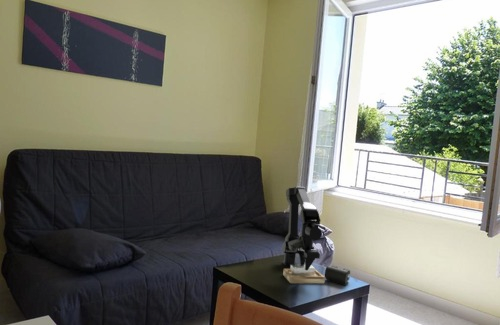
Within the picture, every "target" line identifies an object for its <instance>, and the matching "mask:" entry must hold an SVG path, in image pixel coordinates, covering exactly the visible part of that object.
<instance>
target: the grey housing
mask: <svg viewBox="0 0 500 325" xmlns="http://www.w3.org/2000/svg"><path fill="white" fill-rule="evenodd" d="M289 267H290V268H289V269H290V274H291V275H293V276H314V274H315V269H316V268H315V267H314V266H313V265H312V264H311V266H310V267H309V269H308V270H305V264H304V265H301V264H297V265H291V266H289Z"/></svg>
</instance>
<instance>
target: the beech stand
mask: <svg viewBox="0 0 500 325" xmlns="http://www.w3.org/2000/svg"><path fill="white" fill-rule="evenodd" d="M282 271H283V272H282V273H283V274H282V275H283V276H284V278H285V279H286V280H287V281H288V282H289V283H290V284H325V279H326V278H325V275H323V273H321V272H319V270H317V269H316V268H315V274H314V276H293V275H291V274H290V268H283V270H282Z"/></svg>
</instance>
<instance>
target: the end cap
mask: <svg viewBox="0 0 500 325" xmlns="http://www.w3.org/2000/svg"><path fill="white" fill-rule="evenodd" d="M350 274H351V270H350V269H349V268H343V269H342V268H340V267H338V266H336V265H332V266H330V265H327V266H326V268H325V270H324V277H325V279H326V281H328V282H333V283H336V284H339V285H343V286H347V285H348V284H349V280H350V276H349V275H350ZM346 284H347V285H346Z"/></svg>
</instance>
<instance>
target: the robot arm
mask: <svg viewBox="0 0 500 325" xmlns="http://www.w3.org/2000/svg"><path fill="white" fill-rule="evenodd" d="M306 190H307V189H306V187H305V186H295V187H288V189H286V190H285V196H286V201H287V203H288V204H289V214H288V216H289V217H288V233H287V234H286V236H285V238H284V242H283V243H282V245H281V252H282V253H283V254H284V260H282V261H281V263H282V264H283V265H284V266H285V267H286V266H289V267H291V265H298V264H297V263H296V261H297V260H296V258H297V254H298V259H299V265H305V270H308V269H309V267H310V266H311V265H312V264H313V263H314V261H315V260H317V259H320V258H321V253H320V252H319V251H318V250H316V249H315V247H314V241H318V240H320V239H321V238H322V235H323V232H322V229H321V228H320V227H319V225H321V218H320V214H319V211H318V208H316V206H315V205H314V204H312V203H311V201H310V198H309V196H308V194H307V191H306ZM299 206H300V208H301V210H300V211H299ZM299 212H300V213H299ZM299 214H300V219H301V233H300V235H299V232H298V229H299Z"/></svg>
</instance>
